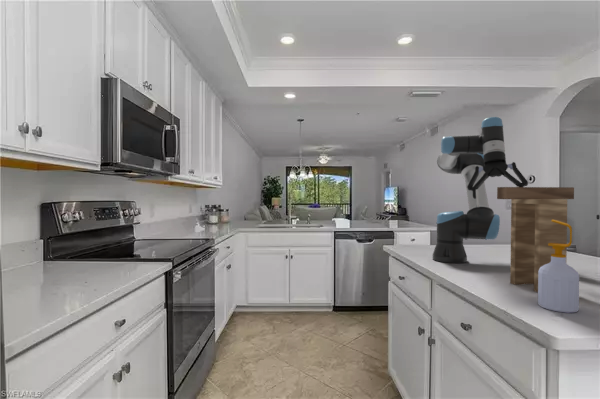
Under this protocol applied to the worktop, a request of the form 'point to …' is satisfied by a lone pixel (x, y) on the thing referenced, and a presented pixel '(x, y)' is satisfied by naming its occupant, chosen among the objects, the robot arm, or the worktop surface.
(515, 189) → the walnut rail
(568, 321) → the worktop surface
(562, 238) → the bridge
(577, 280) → the soap bottle
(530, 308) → the worktop surface
